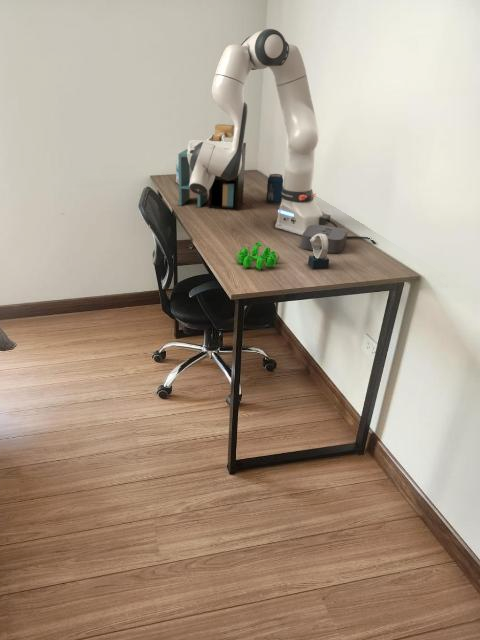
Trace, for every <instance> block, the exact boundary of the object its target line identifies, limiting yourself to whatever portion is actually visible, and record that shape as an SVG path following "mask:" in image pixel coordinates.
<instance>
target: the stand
mask: <svg viewBox="0 0 480 640" xmlns="http://www.w3.org/2000/svg"><path fill="white" fill-rule="evenodd" d="M187 151H188V148H186V149H184V150H183V151H181V152H179V153H178V154H177V155H178V157H177V158H178V159H177V160H178V161H179V184H178V206H179V207H180V206H183V205H185V204H186V203H187V202H188V201H189V200H190V199H191V196H190V195H191V194H190V193H191V190H190V188H189V184H190V165H189V162H188V158H187ZM206 202H209V192H208V193H207V194H205V195H199V194H197V205H196V206H197V208H201V207H202V206H203V205H204V204H206Z"/></svg>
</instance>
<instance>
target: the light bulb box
mask: <svg viewBox="0 0 480 640" xmlns="http://www.w3.org/2000/svg"><path fill="white" fill-rule="evenodd" d="M175 173H176V174H175V177H176V178H175V182H176V183H177V184H178V185H179V160H175ZM191 175H192V170H191V168H190V178H191Z"/></svg>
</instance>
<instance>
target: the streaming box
mask: <svg viewBox="0 0 480 640" xmlns="http://www.w3.org/2000/svg"><path fill="white" fill-rule="evenodd" d="M320 233H322V234H326V235H327V238H328V252H327V253H331V254H339V253H341V252H342V250H343V249H344V247H345V246H346V244H347V239H348V238H347V236H348V229H346V228H345V227H344V228H343V227H338V228H337V227H335V226H328V225H325V226H321V225H310V226H309V227H308V228H307V229H306V230H305V231H304V233H303V235H302V238H301V248H302V249H305V250H309V251H313V247H312V242H310V239H311V238H312V237H313V236H314V235H316V234H320ZM321 250H322V246H321V247H320V251H321Z"/></svg>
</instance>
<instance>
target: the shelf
mask: <svg viewBox="0 0 480 640" xmlns="http://www.w3.org/2000/svg"><path fill="white" fill-rule="evenodd" d="M246 146H247V142H243V148H242V166H241V170H240V173H239V175H238V177H236V178H235V179H233V180H230V181H227V180H225V179H223V178H220V177H219V176H216V175H215V179H214V182H213V184H212V186H211V188H210V190H209V192H208V209H215V210H217V209H219V210H228V211H229V210H230V211H238V210H239V209H240V208H241V206H243V203H244V187H245V186H244V185H245V167H246V149H247V147H246Z"/></svg>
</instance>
